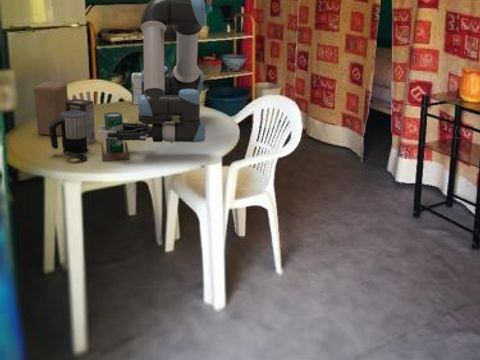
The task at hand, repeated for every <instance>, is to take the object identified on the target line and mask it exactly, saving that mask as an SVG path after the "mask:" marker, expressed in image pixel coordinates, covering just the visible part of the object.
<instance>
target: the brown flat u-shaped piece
mask: <svg viewBox="0 0 480 360" xmlns="http://www.w3.org/2000/svg"><path fill="white" fill-rule="evenodd" d="M100 146H101V147H100V148H101V158H102V159H101V160H102V162H110V161H113V162H114V161H129V160H130V151H129V147H128V142H127V141H124V153H105V148H104V147H105V146H104V142H100Z"/></svg>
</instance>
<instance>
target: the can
mask: <svg viewBox="0 0 480 360" xmlns="http://www.w3.org/2000/svg"><path fill="white" fill-rule="evenodd" d="M123 123H124V121H123V113H121V112H118V111H117V112H116V111H112V112H111V111H109V112H107V113H104V125H105V131H116V130H118V131H119V132H120V131H123ZM105 147H106V148H105V151H106V153H125V143H124V141H119V140H118V139H117V138H105ZM106 153H105V154H106Z"/></svg>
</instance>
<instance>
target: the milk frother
mask: <svg viewBox="0 0 480 360" xmlns="http://www.w3.org/2000/svg"><path fill="white" fill-rule="evenodd" d="M60 115H61V116H62V118H59V119H55V120H53V121H52V122H51V123H50V125H49V132H50V135H49V138H50V143H51V147H52V149H54V150H58V148H59V141H58V136H57V132H56V128H57V126H58V125H61V129H62V135H61V141H62V142H61V143H62V144H61V145H62V149H63V150H62V152H63V154H65V155H67V156H70V157H73V158H76V159H77V160H80V161H83V159H84V160H85V159H87V158H88V155H85V154H86V153H88V151H89V149H88V144H87V138H86V120H85V115H86V113H85V112H83V111H66V112H63V113H61V114H60Z"/></svg>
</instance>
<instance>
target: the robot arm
mask: <svg viewBox="0 0 480 360" xmlns="http://www.w3.org/2000/svg"><path fill="white" fill-rule="evenodd" d="M167 26H169V27H171V26H172V28H173V29H174V31H175V32H176V65H175V66H174V67H173V69H169V68H168V66H166V65H165V32H166V31H167ZM206 26H207V12H206V3H205V0H150V1H148V3H147V5H146V6H145V7H144V9H143V12H142V14H141V18H140V30H141V32H142V33H143V70H142V71H141V72H140V73H141V89H142V95H140V96H139V105H138V116H137V117H138V121H139V122H140V123H139V122H138V123H137V122H135V123H134V122H133V123H132V122H123V131H120V132H119V131H118V130H116V131H105V124H100V125H101V126H100V127H101V128H100V129H101V130H98V134H97V136H98V139H106V138H117V139H118V140H119V141H123V142H127V141H144V142H145V141H146V140H147V139H148V138H149V139H150V138H151V139H152V142H153V143H163V142H165V143H170V144H173V143H175V142H176V143H192V144H193V143H203V142H205V140H206V122H204V121H201V119H200V117H201V116H200V115H201V112H200V111H201V97H200V96H201V94H202V91H203V83H204V72H203V71H202V70H200V68H199V66H198V50H199V49H198V48H199V45H198V43H199V33H200V32H201V31H202V29H203V27H206ZM173 117H179V121H173Z"/></svg>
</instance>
